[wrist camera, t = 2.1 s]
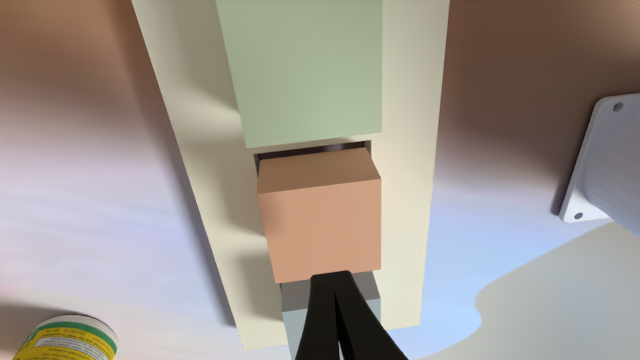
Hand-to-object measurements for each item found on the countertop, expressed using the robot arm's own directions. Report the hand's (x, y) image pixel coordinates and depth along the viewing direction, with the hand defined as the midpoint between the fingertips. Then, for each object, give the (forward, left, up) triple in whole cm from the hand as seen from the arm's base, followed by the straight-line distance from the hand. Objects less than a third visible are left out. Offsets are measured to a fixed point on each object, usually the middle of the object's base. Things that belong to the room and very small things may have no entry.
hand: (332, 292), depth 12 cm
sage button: (0, -7, -6) cm, 9 cm away
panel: (0, 0, -8) cm, 8 cm away
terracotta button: (0, 0, -6) cm, 6 cm away
